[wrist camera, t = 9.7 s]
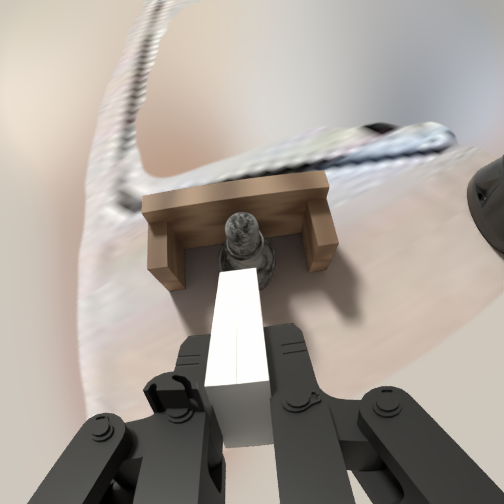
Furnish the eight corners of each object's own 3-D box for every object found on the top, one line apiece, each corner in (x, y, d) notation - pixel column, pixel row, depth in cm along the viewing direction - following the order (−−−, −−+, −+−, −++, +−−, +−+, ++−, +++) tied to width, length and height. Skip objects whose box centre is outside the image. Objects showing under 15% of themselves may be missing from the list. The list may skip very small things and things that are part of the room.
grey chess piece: (283, 258, 35) (289, 199, 24) (262, 304, 33) (259, 263, 22) (236, 239, 37) (223, 177, 26) (214, 283, 35) (189, 234, 24)
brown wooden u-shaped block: (313, 216, 37) (324, 170, 29) (326, 269, 35) (343, 233, 26) (167, 236, 37) (142, 195, 29) (168, 291, 34) (139, 261, 26)
